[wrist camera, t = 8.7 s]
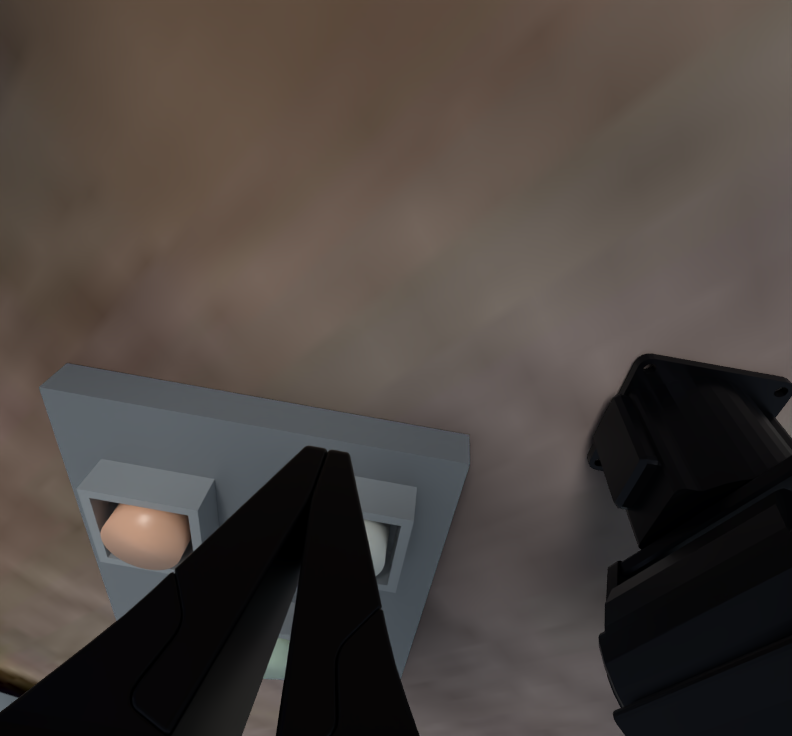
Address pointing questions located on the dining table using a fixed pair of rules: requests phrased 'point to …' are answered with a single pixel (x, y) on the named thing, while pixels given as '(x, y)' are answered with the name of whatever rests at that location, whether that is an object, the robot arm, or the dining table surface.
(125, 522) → the terracotta button
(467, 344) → the dining table surface
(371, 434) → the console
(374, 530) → the ivory button
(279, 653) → the sage button
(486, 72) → the dining table surface
